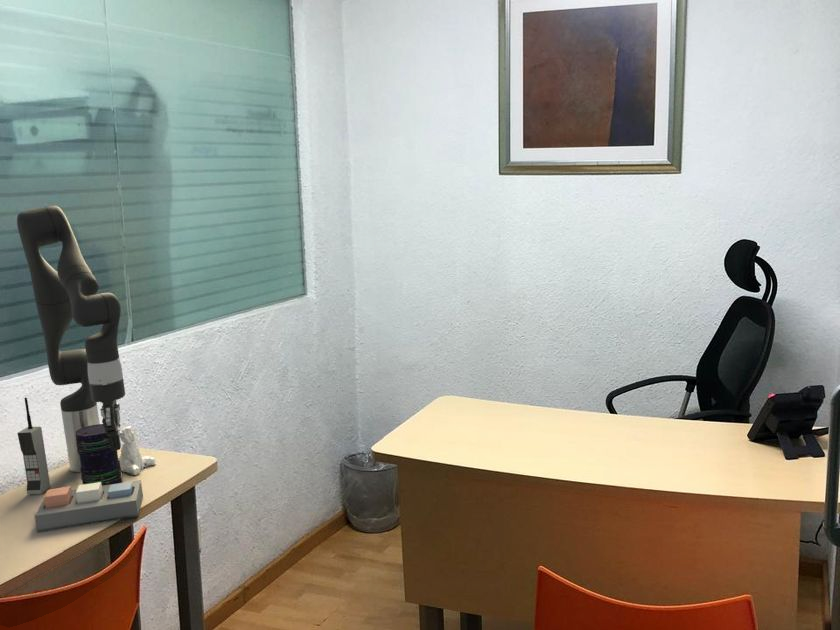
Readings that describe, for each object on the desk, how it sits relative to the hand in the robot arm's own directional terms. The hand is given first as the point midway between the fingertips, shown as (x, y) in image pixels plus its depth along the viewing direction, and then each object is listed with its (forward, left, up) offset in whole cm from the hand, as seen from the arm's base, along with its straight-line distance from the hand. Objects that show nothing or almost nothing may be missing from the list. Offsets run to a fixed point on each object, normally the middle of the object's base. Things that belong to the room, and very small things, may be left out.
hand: (116, 449), depth 200 cm
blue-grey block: (0, 0, -13) cm, 13 cm away
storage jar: (-20, -7, -15) cm, 26 cm away
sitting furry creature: (-29, 0, -15) cm, 32 cm away
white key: (0, -7, -12) cm, 14 cm away
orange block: (0, -14, -12) cm, 18 cm away
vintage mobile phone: (-22, -23, -15) cm, 35 cm away
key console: (0, -7, -15) cm, 16 cm away
